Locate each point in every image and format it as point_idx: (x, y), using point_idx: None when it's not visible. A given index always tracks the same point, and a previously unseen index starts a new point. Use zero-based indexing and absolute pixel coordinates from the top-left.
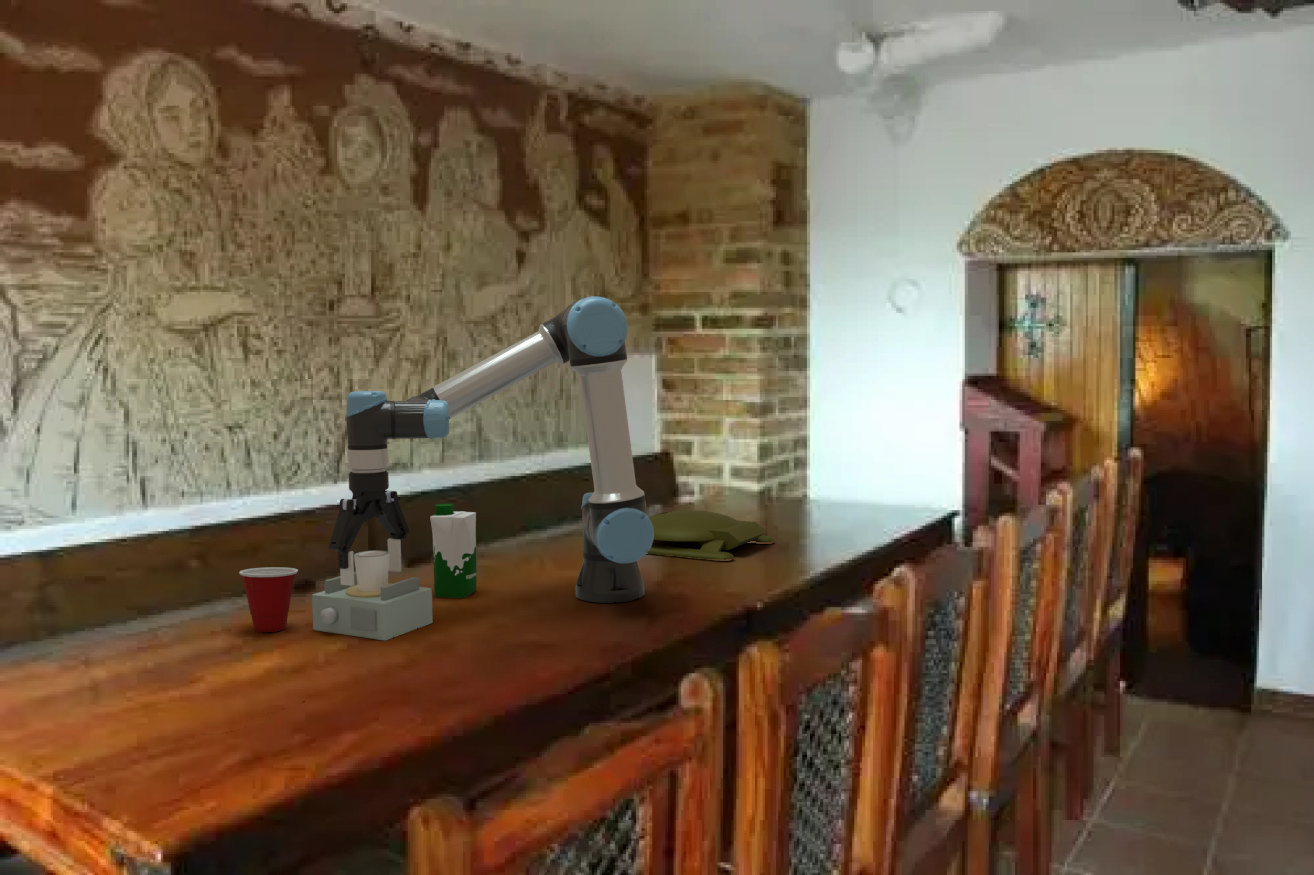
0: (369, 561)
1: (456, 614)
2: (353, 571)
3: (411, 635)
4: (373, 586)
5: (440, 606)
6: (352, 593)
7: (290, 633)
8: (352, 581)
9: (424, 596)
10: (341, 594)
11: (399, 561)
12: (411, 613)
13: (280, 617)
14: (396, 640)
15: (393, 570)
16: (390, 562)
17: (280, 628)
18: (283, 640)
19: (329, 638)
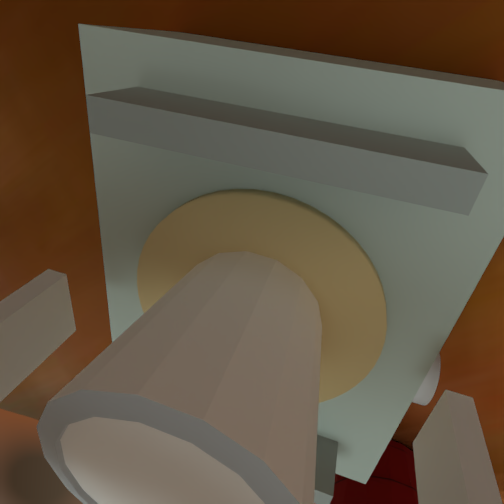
0: (303, 460)
1: (45, 7)
2: (469, 481)
3: (387, 2)
4: (306, 304)
5: (10, 136)
6: (373, 364)
7: (413, 416)
8: (470, 417)
9: (162, 35)
10: (343, 402)
11: (11, 307)
12: (296, 52)
13: (404, 477)
14: (488, 25)
15: (68, 307)
16: (38, 350)
17: (395, 447)
18: (497, 414)
19: (465, 306)
